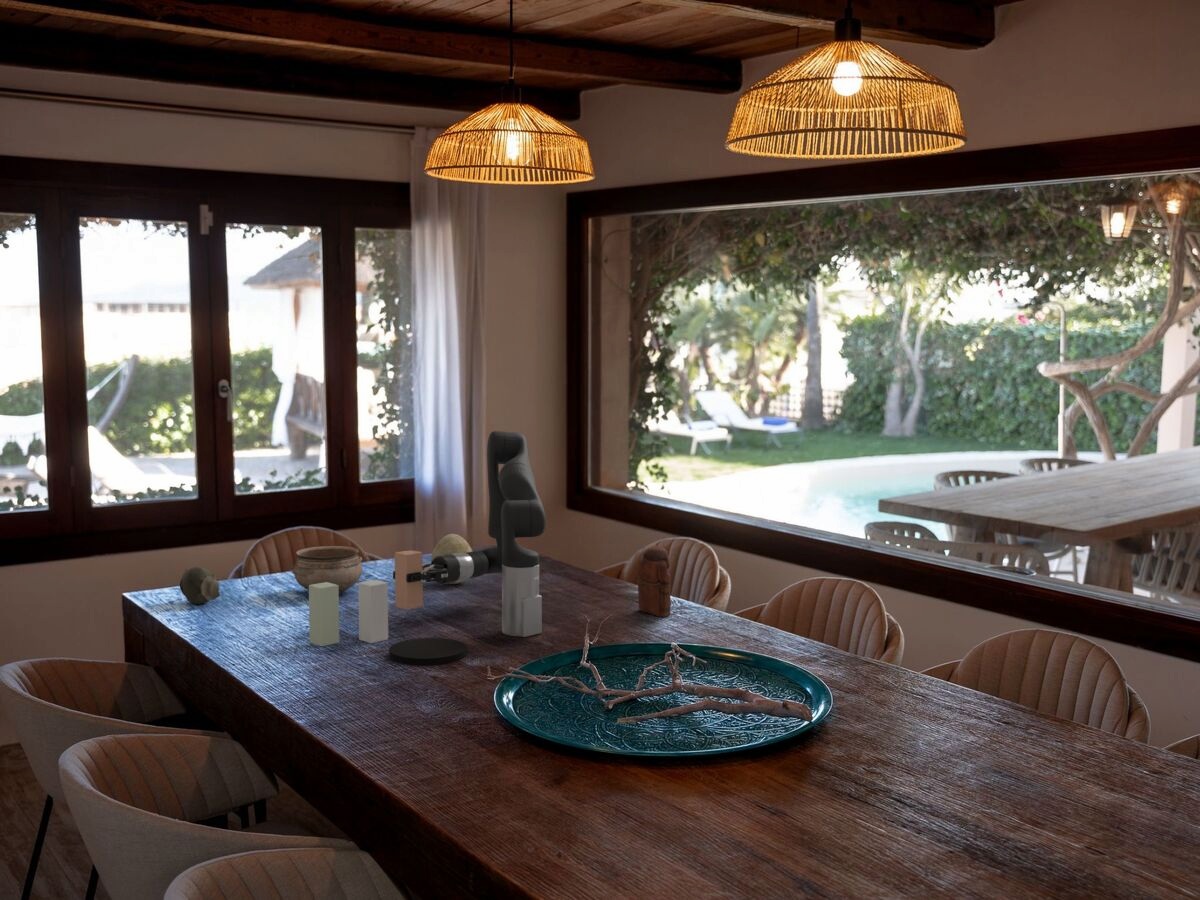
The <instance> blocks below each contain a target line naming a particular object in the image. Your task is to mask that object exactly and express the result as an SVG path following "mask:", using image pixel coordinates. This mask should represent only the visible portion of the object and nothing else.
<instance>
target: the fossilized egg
mask: <svg viewBox="0 0 1200 900" xmlns="http://www.w3.org/2000/svg"><path fill="white" fill-rule="evenodd" d="M467 552H473V550H472V548H471V545H470V544H469V543H468V542H467V540H466V539H464V537H463V536H460V535H459V534H456V533H448V534H447V535H445V536H443V537H442V538H441V539H439V541H438V542H437V543H436V545H435V546H434V548H433V550H432V552H431V557H430V558H431V559H430V563H431V562H432V560H433V559H434V558H435V557H437V556H442V555H448V554H454V553H467ZM464 581H465V580H463V581H458V582H453V583H447V584H448V585H457V584H460V583H462V582H464Z"/></svg>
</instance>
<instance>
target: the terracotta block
mask: <svg viewBox="0 0 1200 900" xmlns="http://www.w3.org/2000/svg"><path fill="white" fill-rule="evenodd" d="M423 564H424V563H423V551H416V550H411V549H409V550H403V551H396V552H394V571H395V579H394V589H395V590H394V599H395V601H394V602H395V608H396V607H397V608H399V609H400V608H401V609H403V610H411V609H412V610H413V609H417V608H421V607H424V591H423V590H424V588H423V587H424V586H423V585H424V581H423V582H421V581H416V582H410V583H408V582H406V575H407V574H409V573H415V572H419V573H420V571H423Z"/></svg>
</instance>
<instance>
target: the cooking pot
mask: <svg viewBox="0 0 1200 900" xmlns="http://www.w3.org/2000/svg"><path fill="white" fill-rule="evenodd" d="M359 552H360V550H359V549H358V548H356V547H351V546H345V545H341V546H339V545H327V546H321V545H320V546H314V547H313V546H312V547H307V548H302V549H299V550H297V551H296V552H295V554H296V555H297V559H296V561H295V564H294V568H293V569H292V570H291V573H292V574H293V575H294V578H295V580H296V582H297V583H298V585H299V586H300V587H302V588H303V589H305V590H308V591H309V585H312V584H318V583H324V582H328V583H332V584H336V585H339V595H341V594H342V593H344V592H345V591H346V590H349V589H350V588H351V587H353V586H355V584H357V583H358V582H359V580H360V578H361V577H362V574H363V566H362V561H363V558H362V557H361V556H359V555H358V554H359Z"/></svg>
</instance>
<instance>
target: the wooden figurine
mask: <svg viewBox="0 0 1200 900" xmlns="http://www.w3.org/2000/svg"><path fill="white" fill-rule="evenodd" d="M669 568H670V557H669V553H668V551H667V550H666V549H665V548H664V547H662V546H657V545H655V546H650V547H648V548H647V549H645V550H644V552H643V553H642V556H641V557H640V559H639V563H638V571H637V573H638V574H637V575H638V577H637V578H638V579H637V581H638V584H637V594H638V595H637V596H638V609H639V611H641V612H644V613H646V614H650V615H653V616H656V617H658V618H659V617H661V618H664V617H667V616H670V614H671V610H672V609H671V605H672V604H671V602H672V601H671V580H672V579H671V577H672V576H671V573H670V572H668V569H669Z"/></svg>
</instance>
